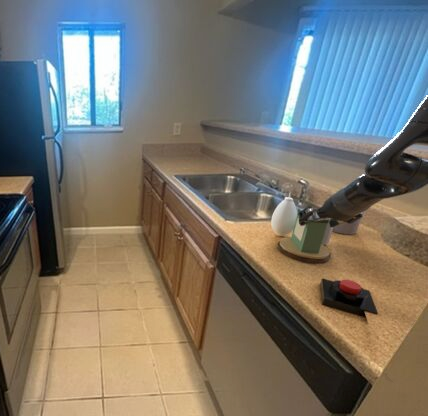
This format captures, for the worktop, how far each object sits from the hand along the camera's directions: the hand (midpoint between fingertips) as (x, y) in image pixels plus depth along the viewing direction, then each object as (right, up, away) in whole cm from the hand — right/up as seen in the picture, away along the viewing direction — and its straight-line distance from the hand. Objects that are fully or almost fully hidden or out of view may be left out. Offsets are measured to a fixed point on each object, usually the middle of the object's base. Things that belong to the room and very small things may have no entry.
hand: (315, 223), depth 88 cm
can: (+10, -8, +13) cm, 18 cm away
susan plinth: (+1, -10, +6) cm, 12 cm away
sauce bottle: (+1, -6, +19) cm, 20 cm away
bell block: (-5, -19, -17) cm, 26 cm away
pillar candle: (+27, -4, +22) cm, 35 cm away
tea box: (0, -9, +6) cm, 11 cm away
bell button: (-5, -16, -18) cm, 25 cm away
